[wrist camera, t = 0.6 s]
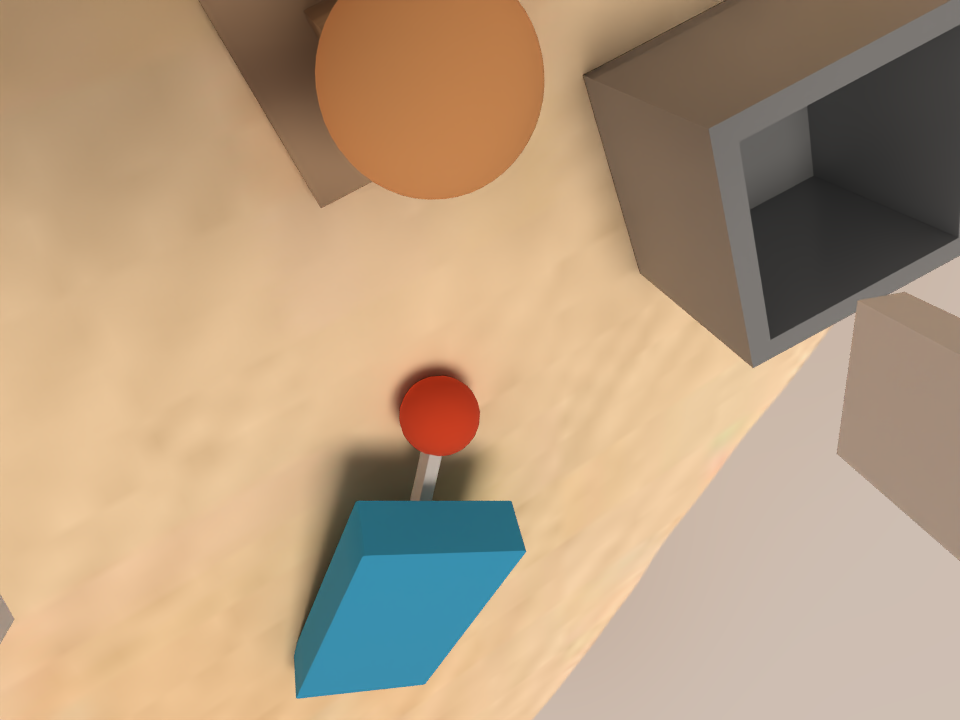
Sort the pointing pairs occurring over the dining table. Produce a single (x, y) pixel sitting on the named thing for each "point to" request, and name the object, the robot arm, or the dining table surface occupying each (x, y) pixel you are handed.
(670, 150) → the square storage bin
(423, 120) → the ball
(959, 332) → the robot arm
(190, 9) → the dining table surface
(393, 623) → the lever
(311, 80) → the tee
